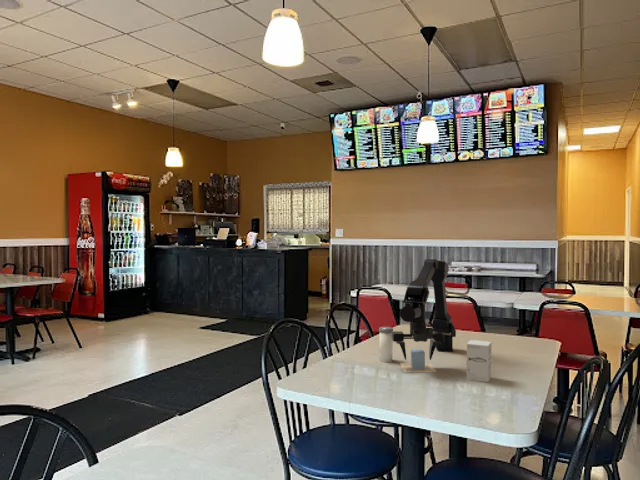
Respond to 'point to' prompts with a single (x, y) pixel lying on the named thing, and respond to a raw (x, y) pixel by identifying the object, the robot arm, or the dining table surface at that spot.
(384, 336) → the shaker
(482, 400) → the dining table surface
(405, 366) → the letter card
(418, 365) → the blue block
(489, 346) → the supplement box
